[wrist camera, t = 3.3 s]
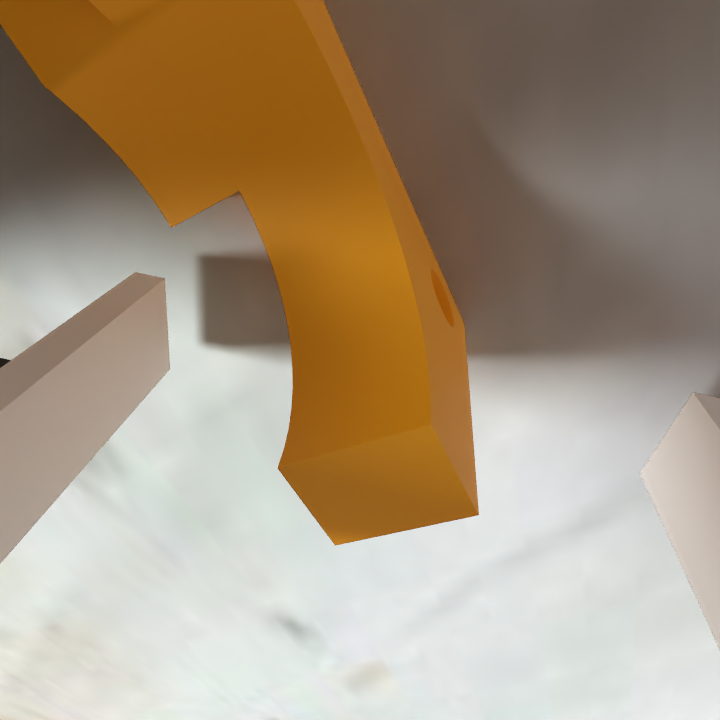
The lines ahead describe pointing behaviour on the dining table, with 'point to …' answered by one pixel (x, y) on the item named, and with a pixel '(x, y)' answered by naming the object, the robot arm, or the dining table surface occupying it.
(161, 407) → the dining table surface
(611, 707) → the dining table surface
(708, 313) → the dining table surface
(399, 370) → the pipe clamp
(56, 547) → the dining table surface
